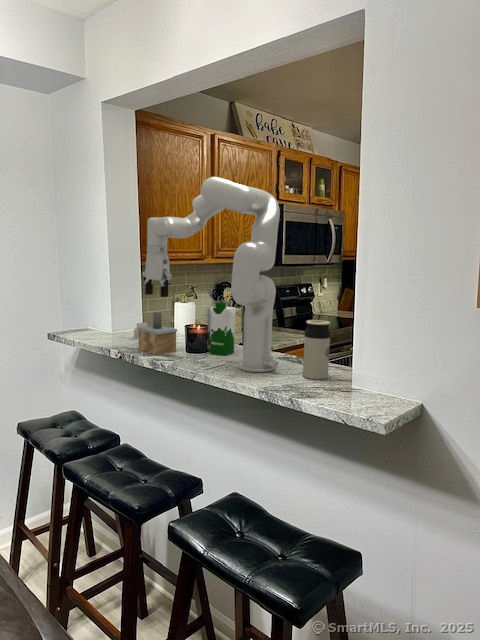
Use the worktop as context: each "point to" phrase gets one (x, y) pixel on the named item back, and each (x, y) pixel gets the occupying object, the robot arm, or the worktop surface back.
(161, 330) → the lid
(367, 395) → the worktop surface
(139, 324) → the architectural model
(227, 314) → the milk carton
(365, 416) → the worktop surface
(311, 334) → the travel mug
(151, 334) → the box
